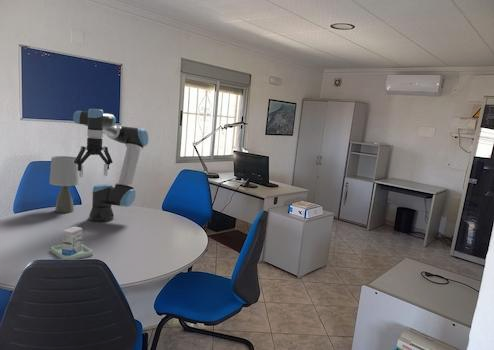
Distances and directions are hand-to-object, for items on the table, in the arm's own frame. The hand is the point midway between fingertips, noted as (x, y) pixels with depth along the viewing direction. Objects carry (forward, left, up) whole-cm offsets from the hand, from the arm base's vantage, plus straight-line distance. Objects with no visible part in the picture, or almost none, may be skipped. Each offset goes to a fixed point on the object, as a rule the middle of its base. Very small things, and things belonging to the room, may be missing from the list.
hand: (93, 176), depth 185 cm
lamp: (-8, -56, -35) cm, 66 cm away
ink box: (+18, +17, -34) cm, 42 cm away
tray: (+18, +17, -35) cm, 43 cm away
